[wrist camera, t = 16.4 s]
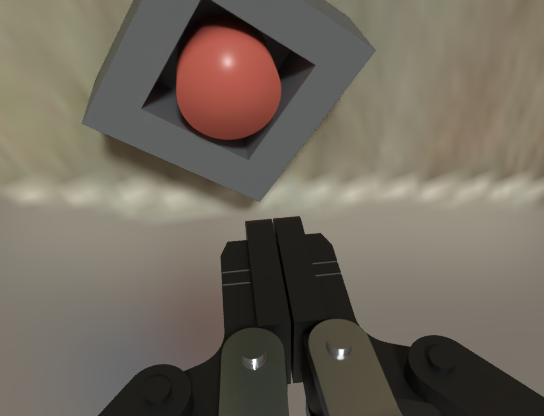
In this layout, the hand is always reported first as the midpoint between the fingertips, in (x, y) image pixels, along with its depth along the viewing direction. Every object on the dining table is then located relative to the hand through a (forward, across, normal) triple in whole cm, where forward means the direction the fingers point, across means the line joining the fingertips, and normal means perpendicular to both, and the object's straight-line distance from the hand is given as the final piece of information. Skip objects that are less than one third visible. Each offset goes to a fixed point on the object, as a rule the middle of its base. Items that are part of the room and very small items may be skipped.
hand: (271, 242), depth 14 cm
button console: (+12, +1, -1) cm, 12 cm away
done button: (+11, +1, -1) cm, 11 cm away
